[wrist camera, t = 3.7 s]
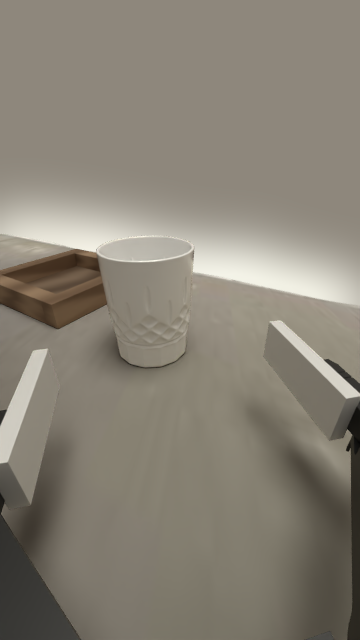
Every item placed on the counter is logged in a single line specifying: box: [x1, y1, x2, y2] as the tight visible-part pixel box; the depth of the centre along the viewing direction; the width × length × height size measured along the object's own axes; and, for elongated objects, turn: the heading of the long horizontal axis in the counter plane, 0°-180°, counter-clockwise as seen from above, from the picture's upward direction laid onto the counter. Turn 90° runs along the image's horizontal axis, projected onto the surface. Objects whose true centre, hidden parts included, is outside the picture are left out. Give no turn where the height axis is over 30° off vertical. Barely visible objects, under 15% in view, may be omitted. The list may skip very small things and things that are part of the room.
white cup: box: [96, 236, 194, 367], centre depth 25 cm, size 8×8×10 cm
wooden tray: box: [0, 249, 107, 329], centre depth 39 cm, size 16×16×3 cm
